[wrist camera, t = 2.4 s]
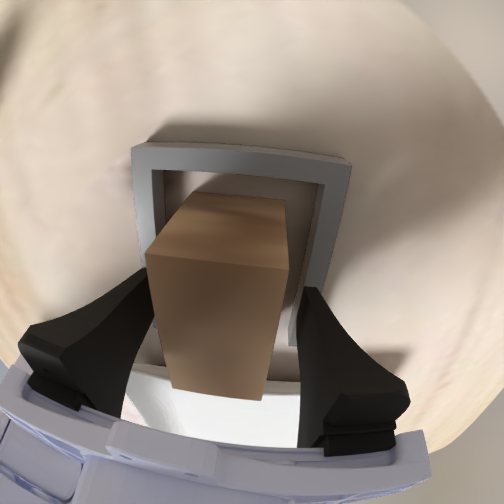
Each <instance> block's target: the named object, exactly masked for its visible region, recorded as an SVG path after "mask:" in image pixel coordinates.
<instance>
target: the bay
mask: <svg viewBox="0 0 504 504" xmlns="http://www.w3.org/2000/svg"><path fill="white" fill-rule="evenodd" d="M131 161H132V179H133V193H134V205H135V215H136V224H137V233H138V241H139V248H140V255H141V262H142V268H143V267H146V261H145V254H144V253H145V252H146V250H147V249H148V248H149V246H150V245H151V244H152V242H153V241H154V240H155V238H156V237H157V236H158V234H159V233H160V232H161V231H162V229H163V228H164V227H165V225H166V217H165V197H164V170H183V171H201V172H217V173H230V174H241V175H252V176H262V177H271V178H280V179H288V180H296V181H304V182H311V183H318V189H317V194H316V200H315V206H314V211H313V216H312V222H311V227H310V232H309V237H308V242H307V247H306V252H305V257H304V261H303V266H302V271H301V275H300V280H299V284H298V289H297V293H296V298H295V302H294V306H293V310H292V315H291V319H290V323H289V327H288V344H289V346H297V340H296V317H297V313H298V309H299V305H300V301H301V297H302V293H303V289H304V286H309V287H317V288H318V290H319V291H320V293H322V289H323V286H324V282H325V279H326V275H327V271H328V268H329V264H330V260H331V257H332V253H333V249H334V245H335V241H336V237H337V233H338V229H339V224H340V220H341V216H342V211H343V207H344V202H345V198H346V193H347V188H348V183H349V178H350V173H351V168H352V165H350V164H349V163H348V162H347V161H346V160H345V159H344V158H339V157H333V156H327V155H321V154H314V153H308V152H301V151H293V150H285V149H277V148H268V147H258V146H247V145H234V144H219V143H197V142H144V143H141V144H139V145H137V146H134V147H132V148H131ZM153 326H154V328H157V323H156V319H155V316H154V319H153Z"/></svg>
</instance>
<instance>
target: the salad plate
mask: <svg viewBox="0 0 504 504" xmlns="http://www.w3.org/2000/svg"><path fill="white" fill-rule="evenodd" d="M300 383H301V382H283V381H267V380H266V383H265V388H264V392H263V396H262V400H261V401H253V400H244V399H235V398H227V397H220V396H213V395H206V394H200V393H195V392H189V391H184V390H179V389H174V388H172V385H171V382H170V378H169V374H168V370H167V367H163V366H157V365H151V364H142V363H133V366H132V369H131V373H130V376H129V380H128V384H127V387H126V394H127V396H128V397H129V399H130V401H131V402H132V404H133V405H134V407H135V409H136V410H137V412H138V413H139V415H140V416H141V418H142V419H143V421H144V422H145V424H146V425H147V427H149V428H153V429H157V430H161V431H165V432H169V433H173V434H178V435H183V436H187V437H193V438H198V439H204V440H210V441H216V442H223V443H231V444H239V445H249V446H261V447H279V448H297V439H298V428H299V414H300Z"/></svg>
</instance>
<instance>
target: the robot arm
mask: <svg viewBox="0 0 504 504" xmlns="http://www.w3.org/2000/svg"><path fill="white" fill-rule="evenodd" d="M154 316H155V314H154V309H153V303H152V298H151V292H150V286H149V280H148V274H147V268H146V267H143V268H142V269H140V270H139V271H137V272H136V273H134V274H133V275H132V276H130V277H129V278H128V279H126V280H125V281H123V282H122V283H121V284H119V285H118V286H117V287H115V288H114V289H112V290H111V291H109V292H108V293H106V294H105V295H103V296H102V297H100V298H98V299H97V300H95V301H93V302H92V303H90V304H88V305H86V306H84V307H82V308H80V309H78V310H76V311H73V312H71V313H69V314H67V315H64V316H61V317H59V318H56V319H53V320H50V321H46V322H42V323H38V324H34V325H30V327H29V328H28V329H27V331H26V332H25V334H24V335H23V336H22V338H21V339H20V341H19V342H18V348H19V351H20V352H21V355H20V356H19V358H18V359H17V361H16V362H15V364H14V365H11V367H10V369H9V370H8V372H7V373H6V375H5V377H4V379H3V380H2V382H1V384H0V504H343V503H350V502H356V501H361V500H366V499H371V498H376V497H381V496H385V495H389V494H394V493H397V492H401V491H404V490H406V489H408V488H411V487H413V486H415V485H417V484H419V483H421V482H423V481H425V480H427V479H429V478H431V477H432V472H431V466H430V461H429V456H428V451H427V446H426V442H425V437H424V433H423V430H416V431H411V432H406V433H401V434H398V435H396V436H395V435H394V430H395V429H396V422H395V420H396V419H397V418H399V417H400V416H401V415H402V414H403V413H404V412H405V411H406V409H407V408H408V407H409V405H410V402H411V401H410V397H409V393H408V390H407V387H406V384H405V382H404V381H403V380H401V379H400V378H398V377H397V376H395V375H393V374H392V373H390V372H389V371H387V370H386V369H385V368H383V367H382V366H381V365H379V364H378V363H377V362H376V361H375V360H373V359H372V358H371V357H370V356H369V355H368V354H367V353H366V352H364V351H363V350H362V349H361V348H360V347H359V346H358V345H357V343H356V342H355V341H354V340H353V339H352V338H351V337H350V336H349V335H348V333H347V332H346V331H345V329H344V328H343V327H342V326H341V324H340V323H339V321H338V320H337V319H336V317H335V316H334V314H333V313H332V311H331V310H330V308H329V306H328V305H327V303H326V302H325V300H324V298H323V297H322V295H321V293H320V291H319V290H318V288H317V287H309V286H304V289H303V293H302V297H301V301H300V305H299V309H298V313H297V317H296V340H297V349H298V358H299V368H300V381H301V383H300V414H299V428H298V439H297V448H279V447H261V446H249V445H239V444H231V443H223V442H216V441H210V440H204V439H198V438H193V437H187V436H183V435H178V434H173V433H169V432H165V431H161V430H157V429H153V428H149V427H146V426H142V425H139V424H135V423H132V422H129V421H125V420H122V419H120V417H121V411H122V405H123V401H124V396H125V392H126V387H127V384H128V380H129V376H130V373H131V369H132V366H133V363H134V360H135V357H136V355H137V352H138V350H139V348H140V346H141V344H142V341H143V339H144V337H145V335H146V333H147V331H148V329H149V327H150V325H151V323H152V321H153V319H154ZM5 467H6V468H5ZM8 469H9V470H8ZM20 477H21V478H20ZM23 479H24V480H23ZM28 482H29V483H28ZM33 485H34V486H33ZM38 488H39V489H38ZM40 489H41V490H40Z"/></svg>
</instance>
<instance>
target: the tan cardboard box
mask: <svg viewBox="0 0 504 504" xmlns="http://www.w3.org/2000/svg"><path fill="white" fill-rule="evenodd" d="M144 254H145V261H146V268H147V274H148V280H149V286H150V292H151V298H152V303H153V309H154V314H155V319H156V323H157V328H158V333H159V337H160V342H161V346H162V350H163V355H164V359H165V363H166V367H167V370H168V374H169V378H170V382H171V385H172V388H174V389H179V390H184V391H189V392H195V393H200V394H206V395H213V396H220V397H227V398H235V399H244V400H253V401H261V400H262V396H263V392H264V388H265V383H266V379H267V375H268V371H269V366H270V362H271V357H272V353H273V348H274V343H275V339H276V334H277V329H278V325H279V320H280V315H281V310H282V305H283V300H284V295H285V290H286V285H287V279H288V274H289V257H288V243H287V230H286V217H285V205H284V200H277V199H268V198H259V197H249V196H239V195H228V194H216V193H203V192H192V193H191V194H190V195H189V197H188V198H187V199H186V200H185V201H184V203H183V204H182V205H181V206H180V208H179V209H178V210H177V211H176V213H175V214H174V215H173V216H172V218H171V219H170V220H169V222H168V223H167V224H166V225H165V227H164V228H163V229H162V231H161V232H160V233H159V234H158V236H157V237H156V238H155V240H154V241H153V242H152V244H151V245H150V246H149V248H148V249H147V250H146V252H145V253H144Z"/></svg>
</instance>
